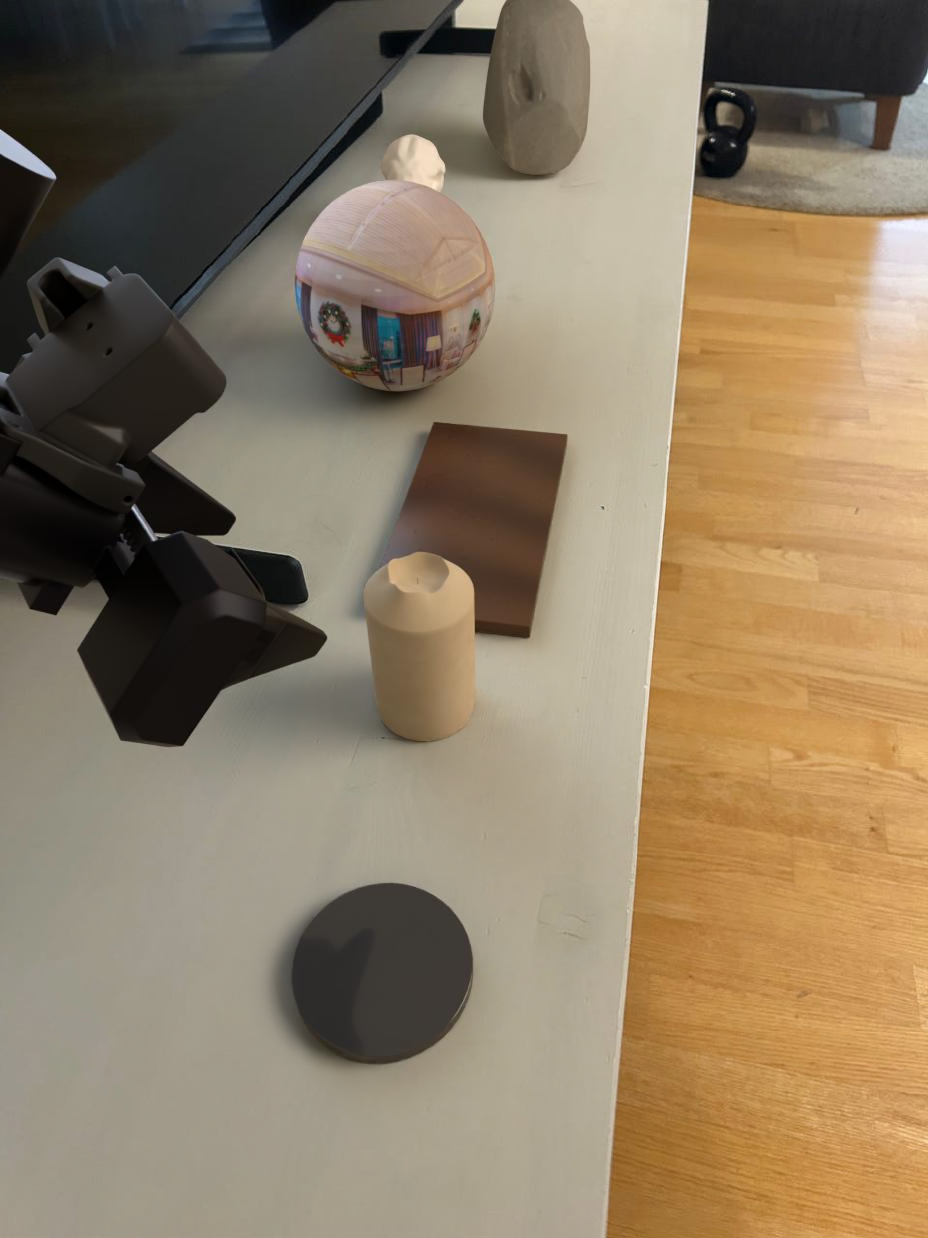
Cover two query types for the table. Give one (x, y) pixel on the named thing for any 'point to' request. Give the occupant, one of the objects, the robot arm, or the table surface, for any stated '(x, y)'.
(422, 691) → the candle
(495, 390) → the table surface
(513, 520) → the walnut board
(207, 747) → the table surface
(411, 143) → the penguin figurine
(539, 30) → the decorative stone
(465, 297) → the ornament
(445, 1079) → the table surface
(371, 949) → the coaster
